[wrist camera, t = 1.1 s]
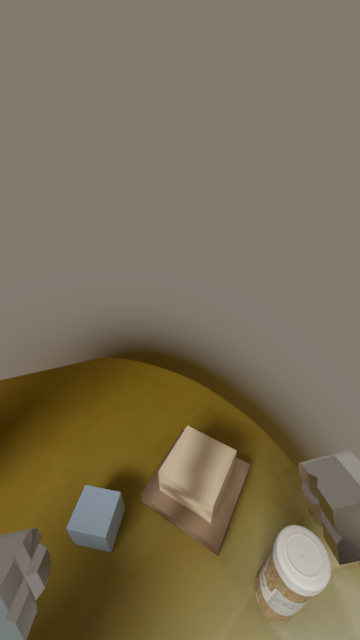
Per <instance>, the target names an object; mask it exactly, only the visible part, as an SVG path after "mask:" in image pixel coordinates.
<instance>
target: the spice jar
mask: <svg viewBox="0 0 360 640" xmlns="http://www.w3.org/2000/svg"><path fill="white" fill-rule="evenodd" d="M330 577H331V563H330V558H329V555H328V553H327V550H326V548H325V547H324V545H323V543H322V542H321V541H320V539H319V538H318V537H317V536H316V535H315V534H314V533H313V532H311V531H310V530H308V529H307V528H305V527H302V526H299V525H290V526H287V527H285V528H283V529H282V530H281V531H280V533H279V534H278V536H277V538H276V540H275V542H274V546H273V551H272V552H271V553H270V555H269V557H268V559H267V561H266V562H265V564H264V566H263V567H262V570H261V571H260V572H259V573H258V575H257V577H256V581H255V595H256V599H257V602H258V604H259V606H260V608H261V610H262V611H263V612H264V614H265V615H266V616H267V617H268V618H269V619H271V620H273V621H275V622H278V623H285V622H286V621H288V620H290V618H291V617H292V616H293V614H295V613H296V612H297V611H298V610H299V609H300V608H301V607H303V606H304V605H305V604H306V603H307V602H308V601H309V600H310V599H311V597H312V596H315V595H317V594H318V593H320V592H321V591H322V590H323V589H324V588H325V587H326V585H327V584H328V582H329V580H330Z"/></svg>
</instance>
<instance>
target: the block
mask: <svg viewBox="0 0 360 640" xmlns="http://www.w3.org/2000/svg"><path fill="white" fill-rule="evenodd" d="M124 510H125V506H124V502H123V499H122V495H121V492H118V491H113V490H108V489H103V488H98V487H93V486H88V485H85V487H84V489H83V492H82V494H81V496H80V498H79V501H78V503H77V505H76V507H75V510H74V512H73V514H72V516H71V519H70V521H69V523H68V525H67V528H66V530H67V531H68V533H69V535H70V536H71V538H72V540H73V541H74V543H75V544H77V545H81V546H85V547H90V548H94V549H98V550H102V551H106V552H111V553H112V549H113V546H114V543H115V540H116V536H117V533H118V530H119V527H120V523H121V520H122V517H123V514H124Z"/></svg>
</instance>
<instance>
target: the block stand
mask: <svg viewBox="0 0 360 640" xmlns="http://www.w3.org/2000/svg"><path fill="white" fill-rule="evenodd" d="M236 453H237V450H235V449H233V448H231V447H229V446H227V445H225V444H223V443H221V442H219V441H217V440H215V439H213V438H211V437H209V436H207V435H205V434H203V433H201V432H199V431H197V430H195V429H193V428H191V427H189V426H187V427H186V429H185V430H182V431H181V433H180V434H179V436H178V437H177V439H176V440H175V442H174V443H173V445H172V447H171V448H170V450H169V451H168V453H167V454H166V456H165V457H164V459H163V461H162V462H161V464H160V465H159V467H158V468H157V470H156V471H155V473H154V475H153V476H152V478H151V479H150V481H149V482H148V484H147V486H146V487H145V489H144V490H143V492H142V493H141V495H140V498H141V502H142V503H143V504H145V505H146V506H148V507H149V508H150V509H152V510H153V511H155V512H156V513H158V514H159V515H160V516H162V517H163V518H165V519H166V520H168V521H169V522H170V523H172V524H173V525H175V526H176V527H178V528H179V529H180V530H182V531H183V532H185V533H186V534H188V535H189V536H190V537H192V538H193V539H195V540H196V541H198V542H199V543H201V544H202V545H203V546H205V547H206V548H208V549H209V550H211V551H212V552H213V553H215V554H216V555H218V554H219V551H220V549H221V546H222V543H223V540H224V538H225V535H226V532H227V529H228V526H229V524H230V521H231V518H232V515H233V513H234V510H235V507H236V504H237V502H238V499H239V496H240V493H241V490H242V488H243V485H244V482H245V479H246V477H247V474H248V471H249V467H250V464H248V463H247V462H245V461H243V460H241V459H239V458H237V457H236Z"/></svg>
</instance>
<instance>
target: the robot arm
mask: <svg viewBox="0 0 360 640" xmlns="http://www.w3.org/2000/svg"><path fill="white" fill-rule="evenodd" d="M298 468H299V474H300V475H301V477H302V479H303V480H304V481H303V483H302V485H301V487H302V492H303V496H304V499H305V502H306V505H307V507H308V509H309V512H310V514H311V515H312V517H313V519H314V521H315V522H316V523H317V524H319V525H320V526H322V527H323V532H324V538H325V540H326V542H327V544H328V545H329V547H330V549H331V551H332V552H333V554H334V556H335V558H336V559H337V561H338V563H339V564H340V565H342V564H347V563H351V562H356V561H360V461H359V460H358V459H357V458H356V457H355V456H354V454H353V453H351V452H350V451H348V450H346V451H343V452H339V453H335V454H331V455H327V456H323V457H319V458H316V459H312V460H308V461H304V462H300V463H299V465H298ZM40 540H41V535H40V533H39V531H38V529H28V530H23V531H19V532H14V533H10V534H5V535H1V536H0V640H26V639H27V637H28V634H29V631H30V628H31V626H32V623H33V620H34V618H35V615H36V612H37V609H38V608H37V603H36V599H37V598H38V597H39V595H40V594H41V593H42V592H43V591H44V589H45V587H46V584H47V581H48V578H49V574H50V566H51V561H50V554H49V552H48V550H47V548H46V547H44V546H43V545H41V544H39V543H40Z"/></svg>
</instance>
